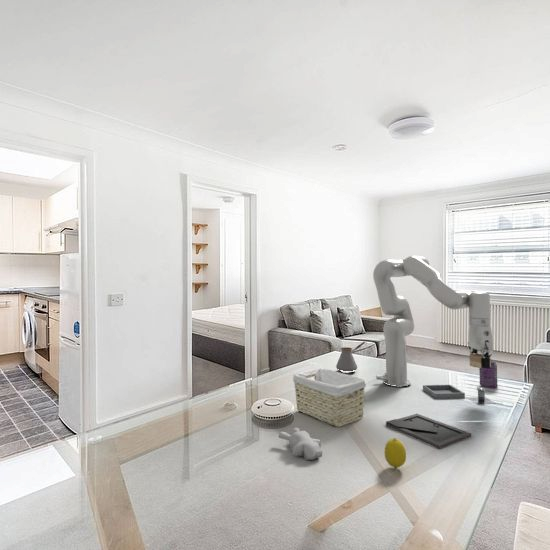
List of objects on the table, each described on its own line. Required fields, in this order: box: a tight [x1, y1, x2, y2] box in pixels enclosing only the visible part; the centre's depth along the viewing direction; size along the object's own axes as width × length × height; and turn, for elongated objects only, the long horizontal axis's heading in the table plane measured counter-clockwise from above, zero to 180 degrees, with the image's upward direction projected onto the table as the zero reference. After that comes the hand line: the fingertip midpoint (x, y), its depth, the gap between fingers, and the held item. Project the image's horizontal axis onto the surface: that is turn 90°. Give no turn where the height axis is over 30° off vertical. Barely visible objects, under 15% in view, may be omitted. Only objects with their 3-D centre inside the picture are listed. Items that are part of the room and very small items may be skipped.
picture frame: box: [385, 413, 472, 450], centre depth 123 cm, size 16×2×21 cm
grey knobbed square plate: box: [467, 386, 498, 405], centre depth 151 cm, size 8×8×6 cm
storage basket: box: [292, 367, 367, 428], centre depth 139 cm, size 24×16×15 cm
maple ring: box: [469, 352, 492, 369], centre depth 151 cm, size 7×7×4 cm
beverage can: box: [478, 359, 498, 389], centre depth 171 cm, size 7×7×12 cm
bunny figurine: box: [277, 427, 323, 461], centre depth 111 cm, size 10×5×15 cm
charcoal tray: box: [422, 384, 466, 400], centre depth 161 cm, size 12×12×2 cm
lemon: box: [384, 437, 407, 469], centre depth 100 cm, size 6×6×8 cm
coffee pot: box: [335, 341, 368, 371], centre depth 206 cm, size 21×12×15 cm, turn 125°
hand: (480, 365), depth 151 cm, fingers closed on maple ring, 7 cm apart
